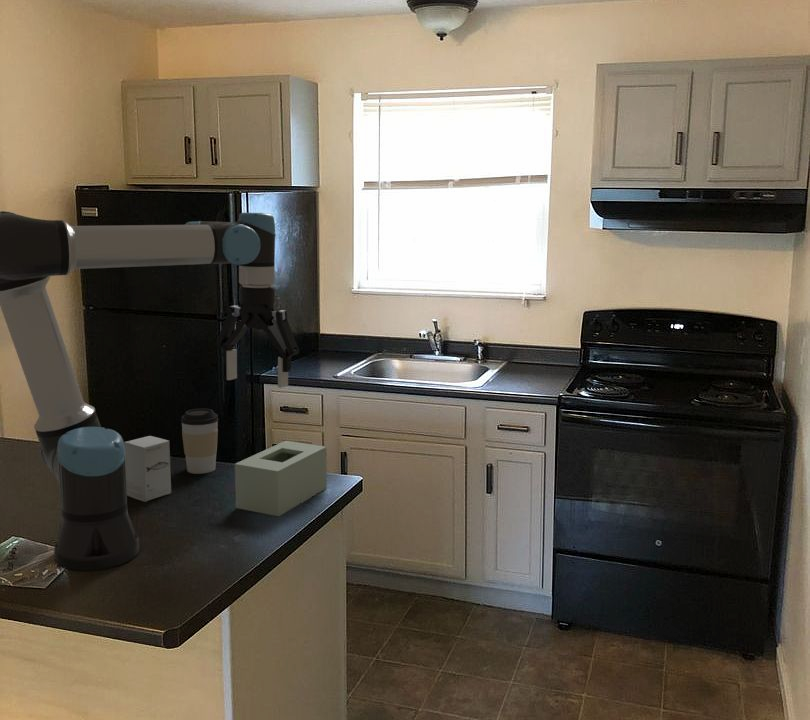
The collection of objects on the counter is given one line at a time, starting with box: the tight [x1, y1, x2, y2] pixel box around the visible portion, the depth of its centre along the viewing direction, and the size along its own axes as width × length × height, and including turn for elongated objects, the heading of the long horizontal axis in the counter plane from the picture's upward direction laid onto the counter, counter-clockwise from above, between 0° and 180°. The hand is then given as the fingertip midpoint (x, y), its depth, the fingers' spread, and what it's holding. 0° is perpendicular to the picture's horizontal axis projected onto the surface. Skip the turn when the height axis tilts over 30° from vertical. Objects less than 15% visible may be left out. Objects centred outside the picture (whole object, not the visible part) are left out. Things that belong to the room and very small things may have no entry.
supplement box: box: [123, 435, 172, 503], centre depth 198 cm, size 7×7×13 cm
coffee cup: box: [180, 408, 219, 475], centre depth 216 cm, size 9×9×15 cm
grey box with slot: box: [234, 440, 328, 517], centre depth 197 cm, size 20×11×10 cm, turn 155°
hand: (257, 382), depth 193 cm, fingers open, 13 cm apart
